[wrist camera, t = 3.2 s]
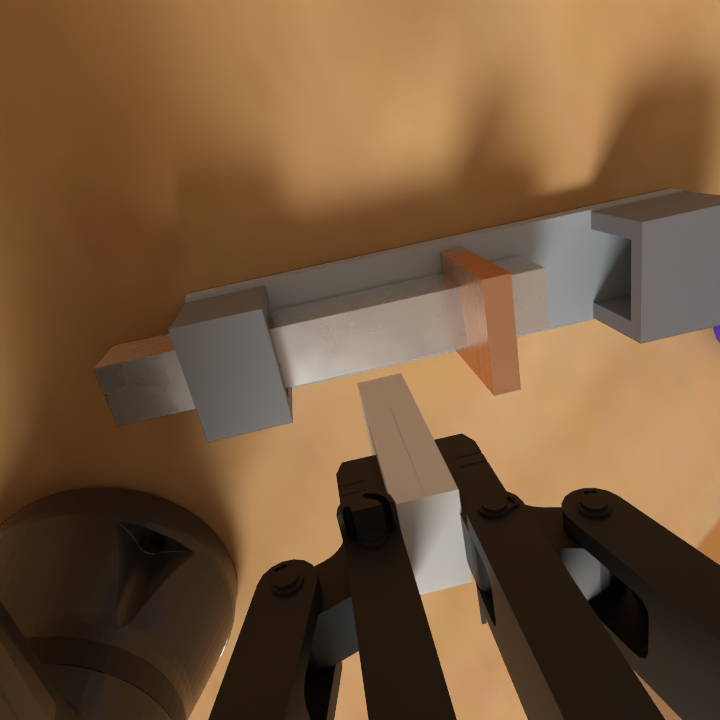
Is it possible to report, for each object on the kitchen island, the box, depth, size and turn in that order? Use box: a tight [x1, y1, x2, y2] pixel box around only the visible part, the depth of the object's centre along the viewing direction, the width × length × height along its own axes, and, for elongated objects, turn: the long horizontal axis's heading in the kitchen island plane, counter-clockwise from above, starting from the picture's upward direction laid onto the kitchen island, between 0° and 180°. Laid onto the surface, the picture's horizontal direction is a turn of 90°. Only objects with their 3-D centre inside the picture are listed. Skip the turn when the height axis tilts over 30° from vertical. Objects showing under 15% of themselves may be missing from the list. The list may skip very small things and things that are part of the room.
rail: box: [168, 188, 720, 442], centre depth 27 cm, size 26×6×5 cm, turn 100°
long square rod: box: [93, 247, 549, 427], centre depth 25 cm, size 21×5×6 cm, turn 100°
